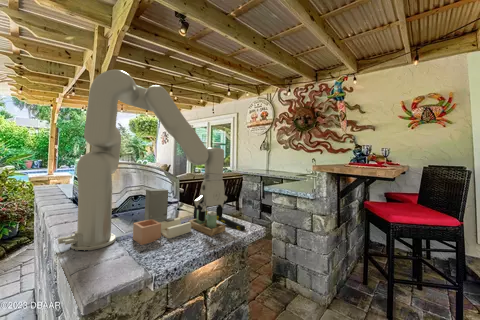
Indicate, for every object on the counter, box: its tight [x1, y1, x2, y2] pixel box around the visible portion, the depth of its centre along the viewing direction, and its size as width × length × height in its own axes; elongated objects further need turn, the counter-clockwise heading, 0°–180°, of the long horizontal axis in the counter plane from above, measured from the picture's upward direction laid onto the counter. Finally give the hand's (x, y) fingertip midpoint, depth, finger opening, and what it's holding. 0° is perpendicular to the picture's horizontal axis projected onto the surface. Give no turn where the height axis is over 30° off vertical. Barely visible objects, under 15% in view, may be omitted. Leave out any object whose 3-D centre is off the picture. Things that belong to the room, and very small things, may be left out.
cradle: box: [159, 217, 192, 239], centre depth 81 cm, size 10×9×5 cm
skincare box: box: [143, 188, 169, 222], centre depth 91 cm, size 8×7×16 cm
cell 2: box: [206, 210, 218, 229], centre depth 84 cm, size 4×4×8 cm
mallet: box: [192, 202, 246, 232], centre depth 94 cm, size 29×6×10 cm, turn 57°
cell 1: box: [196, 209, 207, 224], centre depth 89 cm, size 4×4×8 cm
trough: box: [187, 218, 227, 237], centre depth 87 cm, size 8×15×3 cm, turn 50°
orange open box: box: [132, 219, 162, 246], centre depth 75 cm, size 7×7×6 cm
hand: (210, 218), depth 84 cm, fingers open, 9 cm apart
